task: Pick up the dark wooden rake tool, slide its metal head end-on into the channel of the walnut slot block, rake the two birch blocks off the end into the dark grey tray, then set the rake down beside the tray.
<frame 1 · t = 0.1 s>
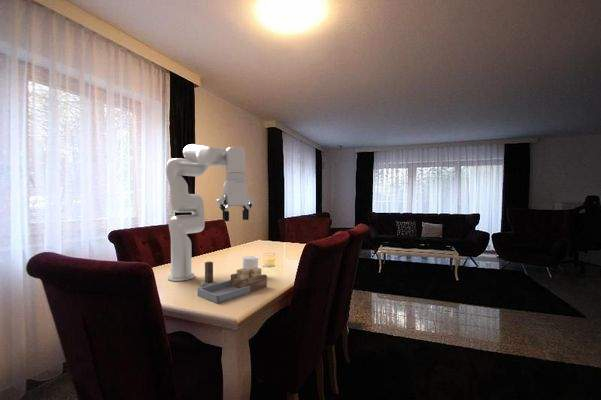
hand: (236, 220, 115), 31 cm above the table, tool pointing down, fingers open, 9 cm apart
near chip: (243, 278, 128), point 4 cm above the table, touching slot block
white cup: (250, 277, 145), on the table
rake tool: (209, 287, 128), on the table
chip tray: (224, 294, 119), on the table
far chip: (255, 277, 130), point 4 cm above the table, touching slot block
slot block: (248, 287, 129), on the table
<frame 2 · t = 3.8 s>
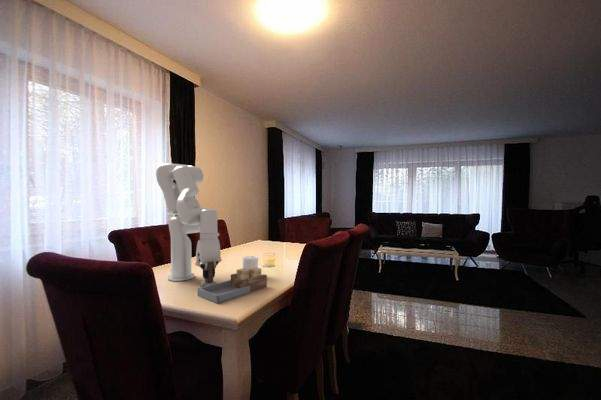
hand: (208, 277, 128), 5 cm above the table, tool pointing down, fingers closed on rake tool, 2 cm apart
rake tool: (209, 287, 128), on the table, touching gripper
everything else where it was.
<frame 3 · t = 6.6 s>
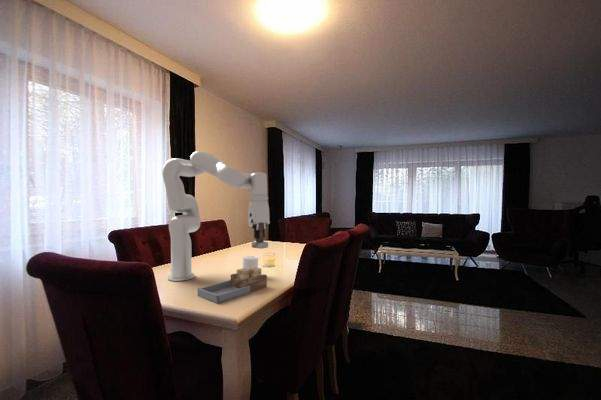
hand: (259, 237, 135), 22 cm above the table, tool pointing down, fingers closed on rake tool, 2 cm apart
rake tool: (259, 247, 134), point 17 cm above the table, touching gripper
everything else where it was.
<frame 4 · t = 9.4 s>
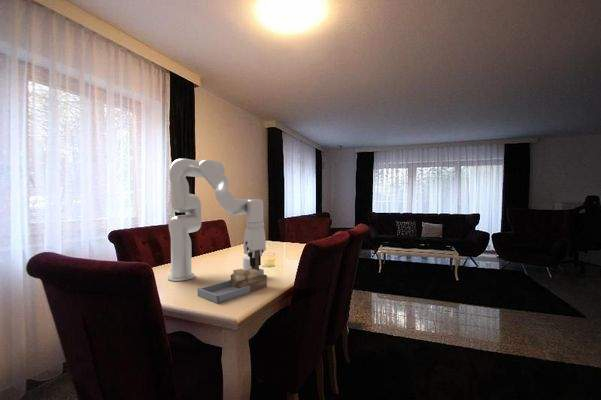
hand: (255, 265, 132), 9 cm above the table, tool pointing down, fingers closed on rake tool, 2 cm apart
near chip: (239, 279, 127), point 4 cm above the table, touching far chip, slot block
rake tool: (255, 274, 132), point 5 cm above the table, touching gripper
far chip: (251, 278, 128), point 4 cm above the table, touching near chip, slot block
everything else where it was.
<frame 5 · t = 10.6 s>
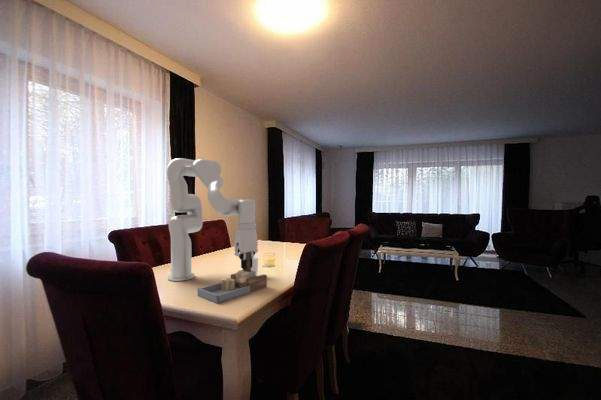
hand: (246, 267, 128), 9 cm above the table, tool pointing down, fingers closed on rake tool, 2 cm apart
near chip: (231, 283, 126), point 2 cm above the table, tilted 90°, touching chip tray
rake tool: (246, 276, 128), point 5 cm above the table, touching far chip, gripper
far chip: (242, 281, 124), point 4 cm above the table, touching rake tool
everything else where it was.
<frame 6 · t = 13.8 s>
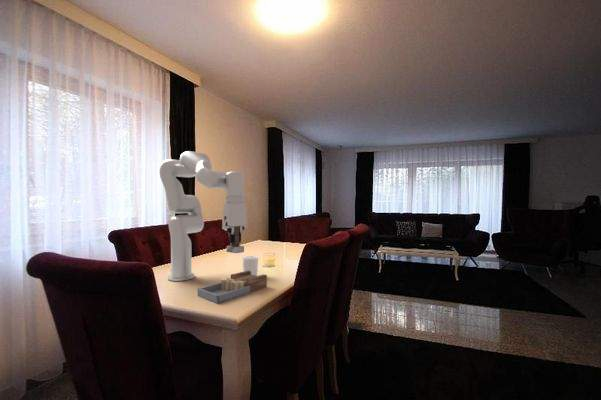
hand: (235, 242, 124), 21 cm above the table, tool pointing down, fingers closed on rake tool, 2 cm apart
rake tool: (235, 251, 124), point 17 cm above the table, touching gripper
far chip: (241, 285, 123), point 2 cm above the table, tilted 90°, touching chip tray
everything else where it was.
when the fingers open (6 cm above the table, at t = 16.8 s): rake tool drops 2 cm, on the table.
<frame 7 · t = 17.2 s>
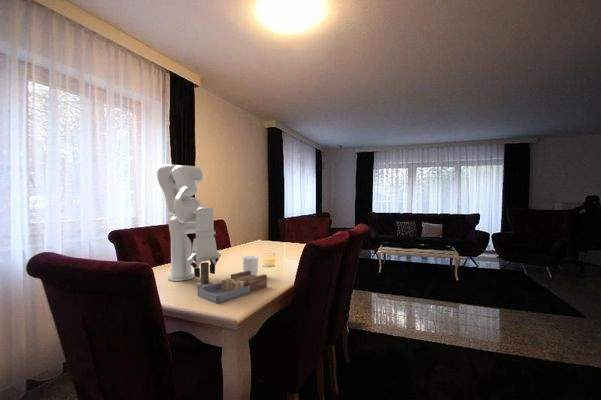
hand: (204, 274, 127), 6 cm above the table, tool pointing down, fingers open, 6 cm apart
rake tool: (204, 288, 127), on the table
everything else where it was.
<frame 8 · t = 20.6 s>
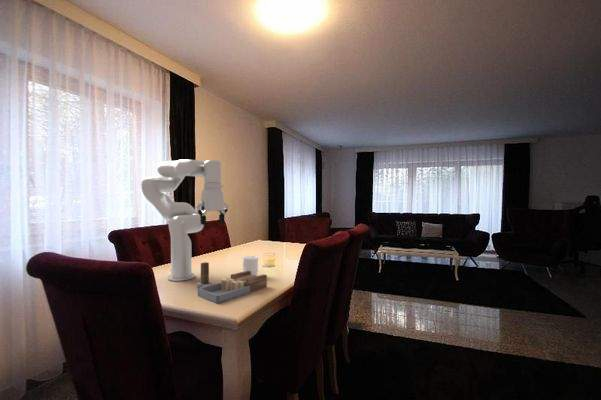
hand: (212, 223, 133), 28 cm above the table, tool pointing down, fingers open, 9 cm apart
nothing on the table moved.
at the end: near chip inside the target area on the chip tray (7.3 cm from its centre), point 2.5 cm above the chip tray's base; far chip inside the target area on the chip tray (7.3 cm from its centre), point 2.5 cm above the chip tray's base; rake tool inside the target area (0.1 cm from its centre), on the table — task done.
